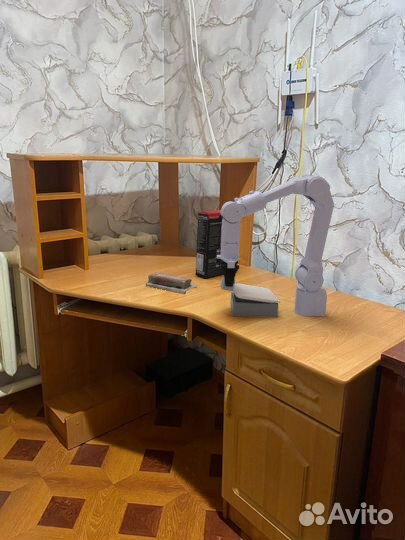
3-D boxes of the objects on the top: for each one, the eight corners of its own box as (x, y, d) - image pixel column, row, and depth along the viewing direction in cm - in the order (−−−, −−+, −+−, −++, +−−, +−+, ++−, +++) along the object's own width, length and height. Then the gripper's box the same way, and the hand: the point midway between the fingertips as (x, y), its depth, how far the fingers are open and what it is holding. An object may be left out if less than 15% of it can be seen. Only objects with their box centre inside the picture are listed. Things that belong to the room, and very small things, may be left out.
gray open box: (271, 306, 142) (272, 292, 141) (277, 319, 132) (278, 304, 131) (230, 305, 142) (230, 291, 141) (232, 318, 132) (233, 303, 130)
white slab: (266, 292, 141) (270, 279, 140) (279, 305, 131) (283, 292, 129) (216, 284, 136) (219, 271, 135) (225, 297, 126) (228, 283, 125)
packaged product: (144, 275, 160) (159, 269, 169) (144, 287, 162) (159, 281, 170) (184, 282, 152) (198, 276, 160) (184, 295, 153) (197, 288, 162)
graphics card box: (222, 269, 188) (224, 208, 180) (234, 272, 183) (237, 209, 176) (195, 276, 176) (196, 211, 169) (206, 279, 171) (208, 213, 164)
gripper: (216, 236, 134) (215, 277, 138) (217, 246, 120) (216, 291, 124) (238, 237, 134) (236, 278, 138) (242, 247, 120) (240, 292, 124)
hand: (228, 284), depth 131 cm, fingers closed on white slab, 3 cm apart
